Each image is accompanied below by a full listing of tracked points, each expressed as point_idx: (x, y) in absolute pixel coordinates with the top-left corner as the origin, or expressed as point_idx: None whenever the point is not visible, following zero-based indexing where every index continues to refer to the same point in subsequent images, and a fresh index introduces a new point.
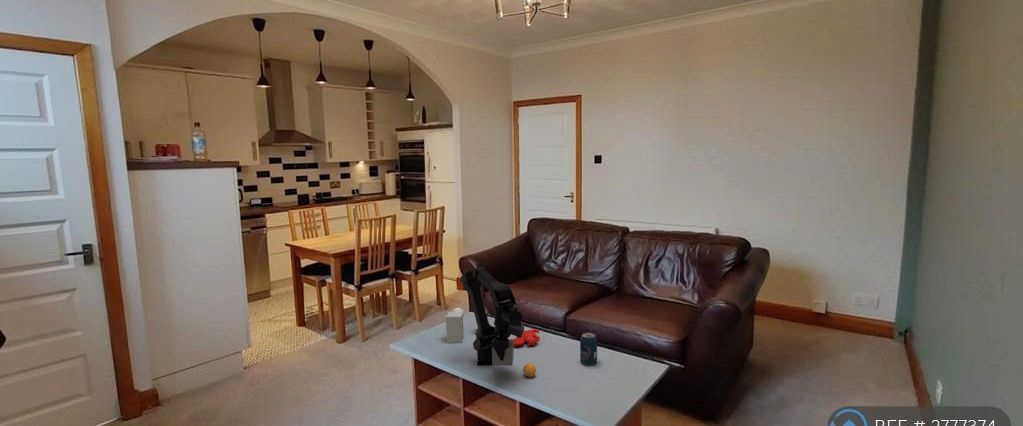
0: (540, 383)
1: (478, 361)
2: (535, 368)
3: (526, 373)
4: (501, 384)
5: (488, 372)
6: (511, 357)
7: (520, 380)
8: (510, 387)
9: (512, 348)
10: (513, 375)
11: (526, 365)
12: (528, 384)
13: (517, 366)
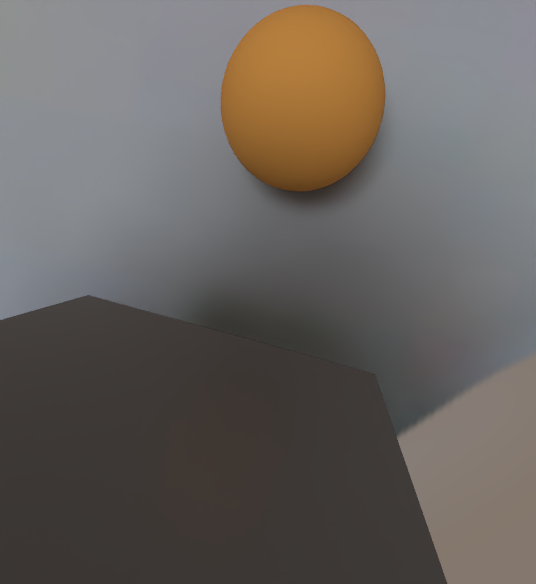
0: (507, 33)
1: None
2: (337, 13)
3: (357, 164)
4: (405, 421)
5: None
6: (402, 478)
7: (376, 242)
8: (488, 360)
9: (178, 560)
10: (262, 288)
11: (306, 135)
12: (485, 175)
13: (100, 220)
